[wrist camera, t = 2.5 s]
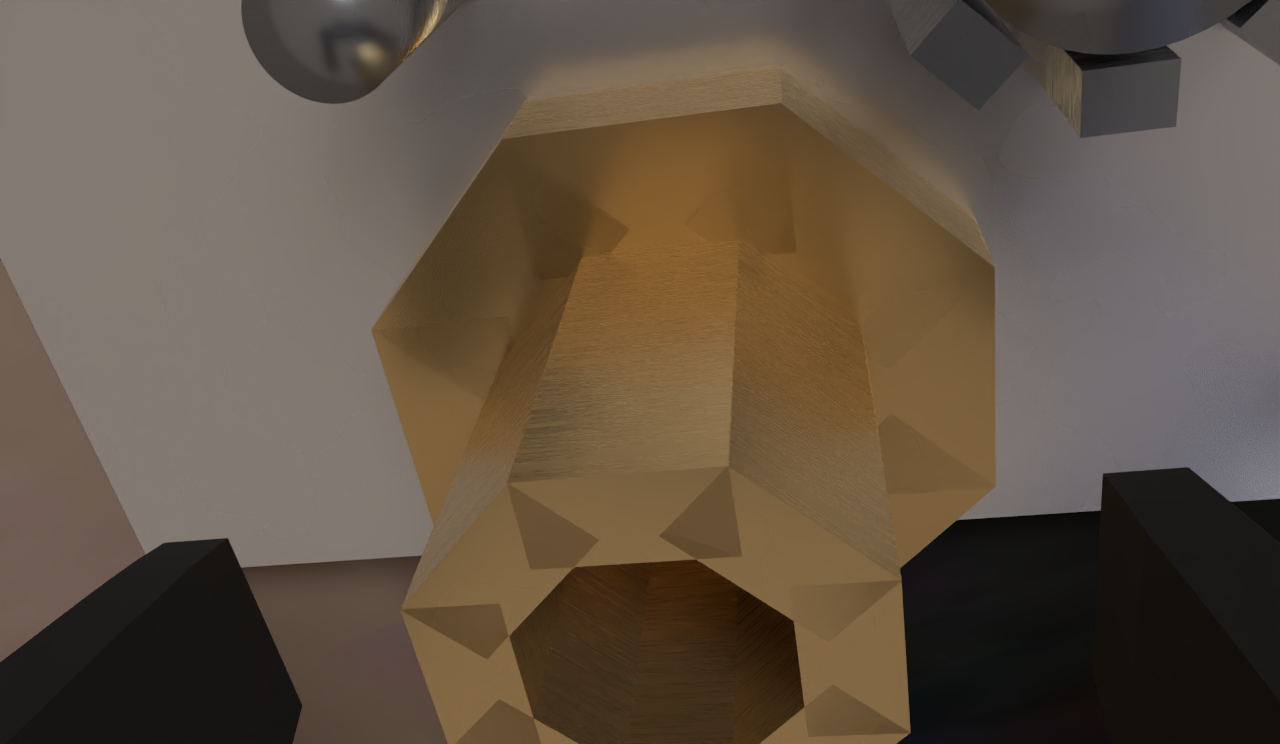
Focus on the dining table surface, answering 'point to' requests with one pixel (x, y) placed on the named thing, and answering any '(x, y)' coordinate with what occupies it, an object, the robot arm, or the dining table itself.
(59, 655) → the robot arm
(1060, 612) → the dining table surface
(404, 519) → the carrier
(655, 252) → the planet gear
